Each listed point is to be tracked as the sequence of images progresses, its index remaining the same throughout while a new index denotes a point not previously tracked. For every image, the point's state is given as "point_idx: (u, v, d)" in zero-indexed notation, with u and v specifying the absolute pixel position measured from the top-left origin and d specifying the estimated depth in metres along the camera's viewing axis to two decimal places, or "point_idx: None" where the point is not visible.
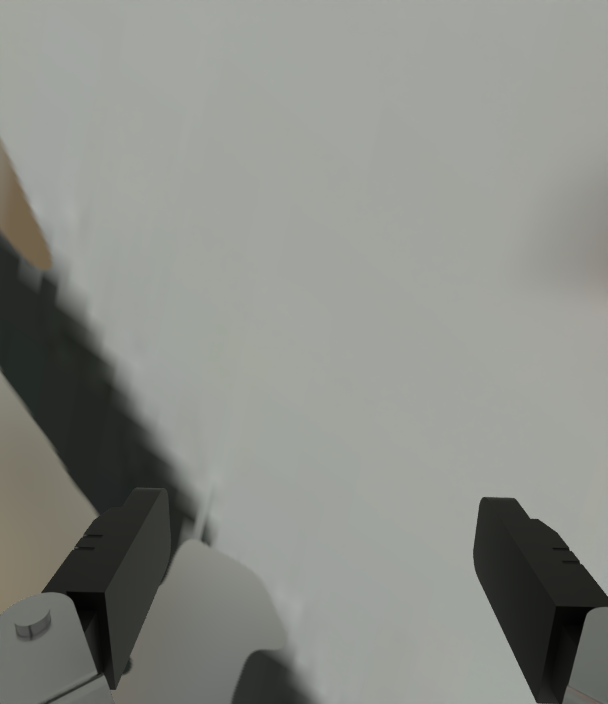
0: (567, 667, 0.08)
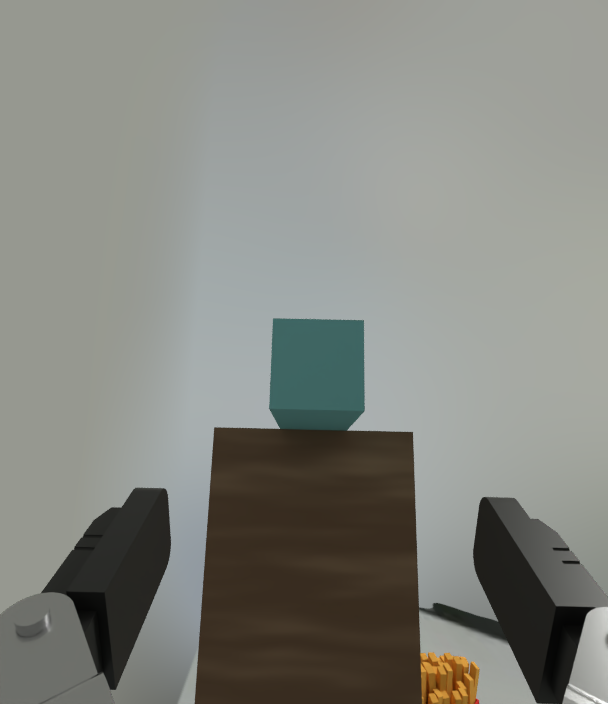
0: (567, 667, 0.08)
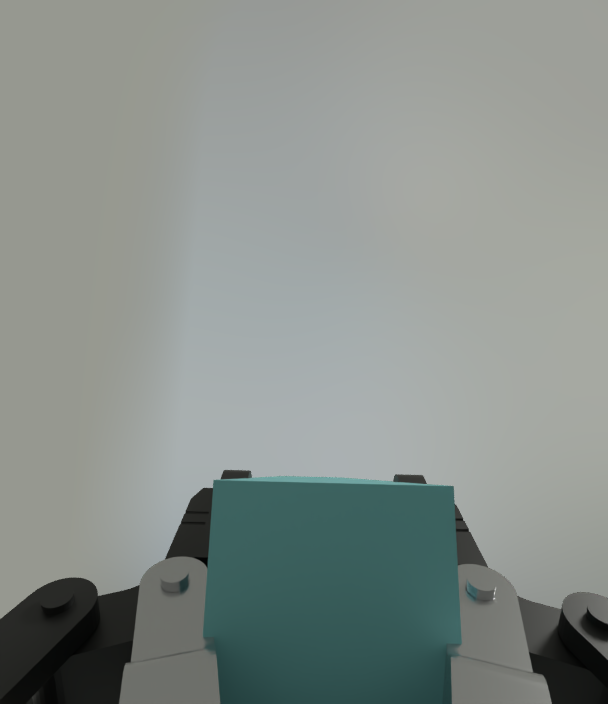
0: None
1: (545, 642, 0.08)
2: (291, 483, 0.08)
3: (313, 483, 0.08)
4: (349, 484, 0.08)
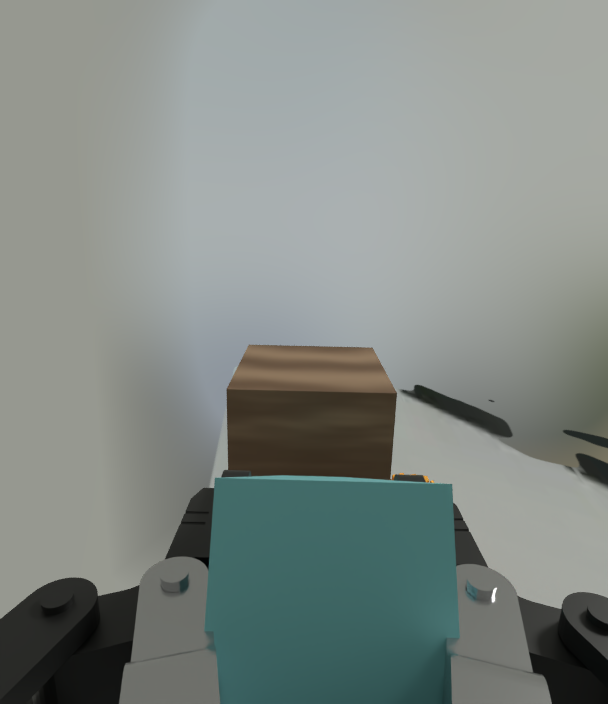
0: None
1: (545, 642, 0.08)
2: (292, 481, 0.08)
3: (313, 481, 0.08)
4: (349, 482, 0.08)
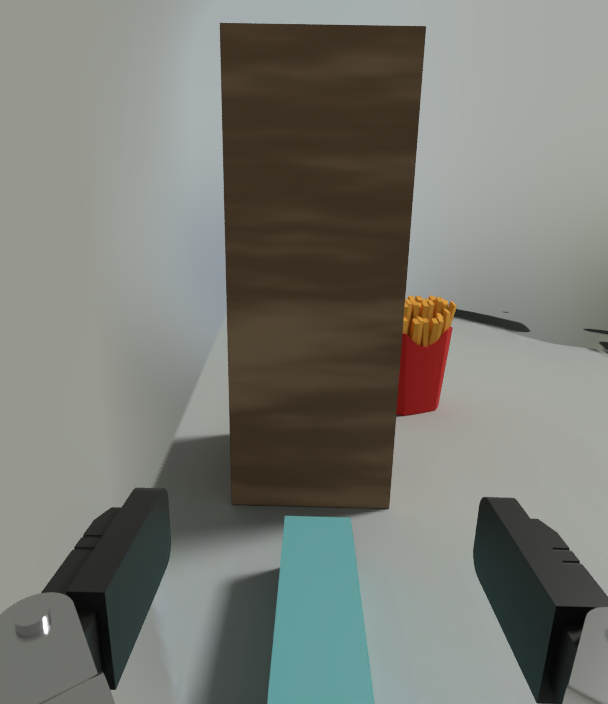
0: (567, 667, 0.08)
1: None
2: None
3: None
4: None
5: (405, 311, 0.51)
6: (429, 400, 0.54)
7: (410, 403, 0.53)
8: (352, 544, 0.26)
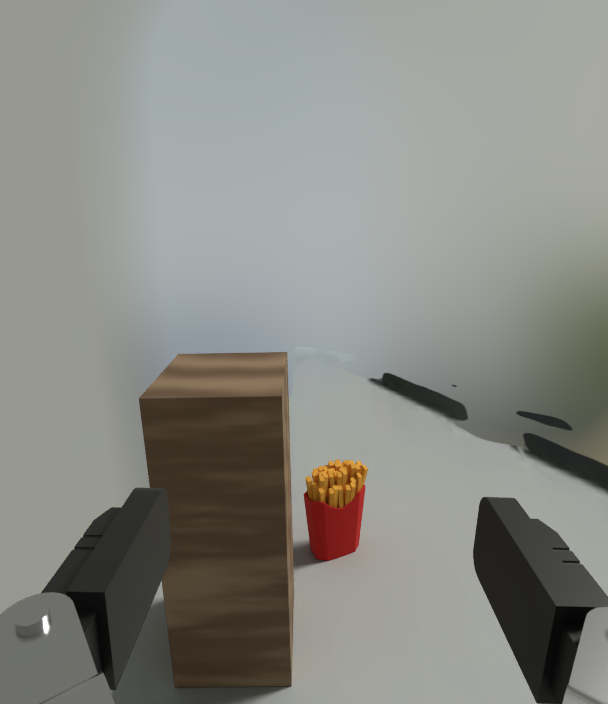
0: (567, 667, 0.08)
1: None
2: None
3: None
4: None
5: (322, 484, 0.63)
6: (349, 545, 0.67)
7: (332, 551, 0.66)
8: None
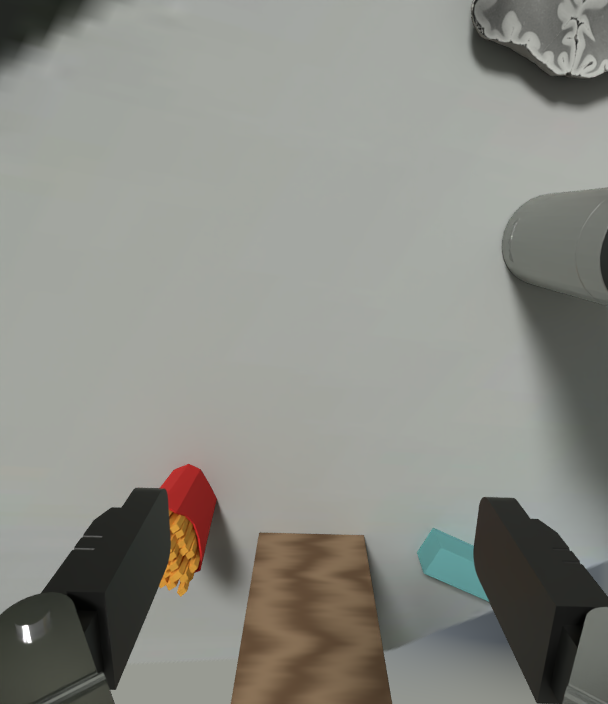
0: (567, 667, 0.08)
1: None
2: None
3: None
4: None
5: (188, 572, 0.46)
6: (202, 481, 0.55)
7: (212, 500, 0.56)
8: (459, 556, 0.55)
